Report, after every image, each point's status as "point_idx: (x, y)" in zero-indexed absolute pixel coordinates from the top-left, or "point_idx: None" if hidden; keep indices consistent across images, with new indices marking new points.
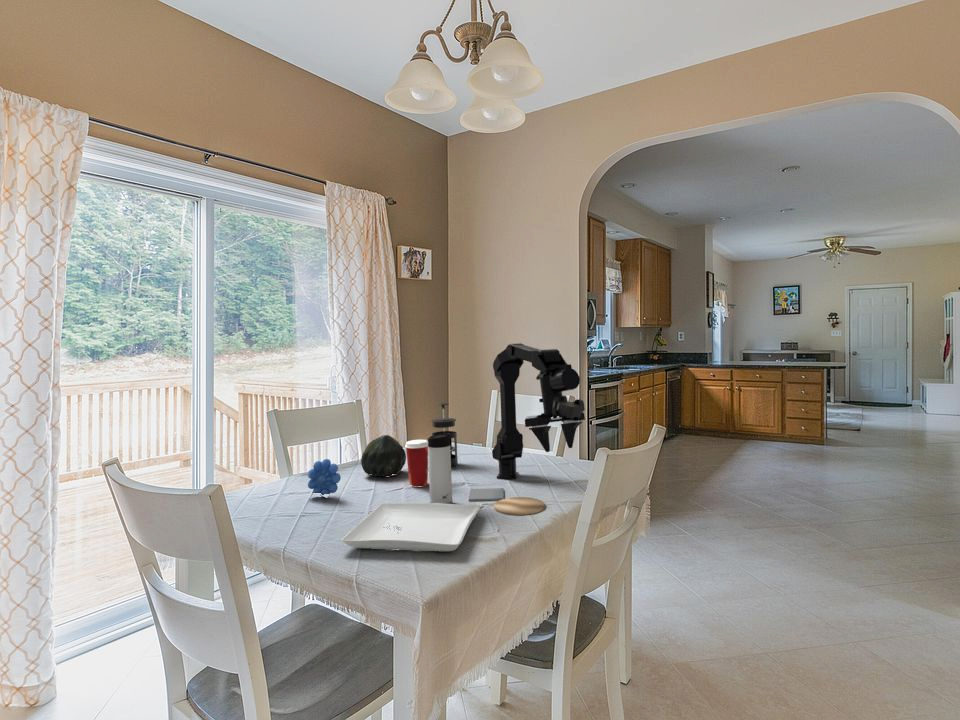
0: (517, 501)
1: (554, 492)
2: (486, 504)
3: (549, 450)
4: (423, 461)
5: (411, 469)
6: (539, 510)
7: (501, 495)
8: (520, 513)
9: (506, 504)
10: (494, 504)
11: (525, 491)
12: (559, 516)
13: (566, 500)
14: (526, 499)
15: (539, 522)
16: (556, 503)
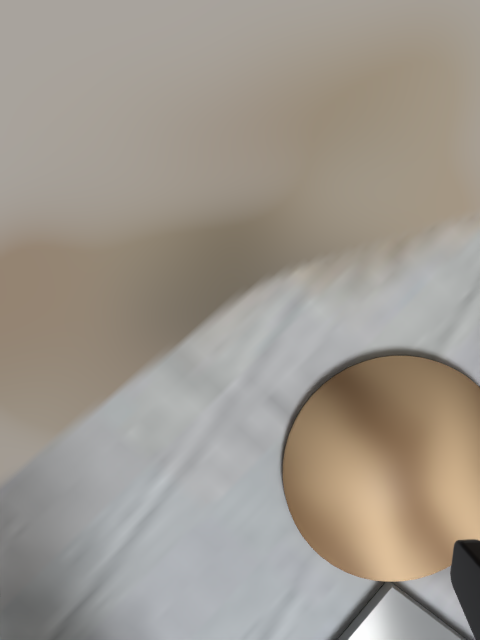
0: (371, 515)
1: (133, 516)
2: None
3: (474, 547)
4: None
5: None
6: (386, 357)
7: (372, 624)
8: (471, 384)
9: (433, 515)
10: None
11: (225, 617)
12: (361, 257)
13: (180, 390)
14: (322, 510)
15: (471, 263)
16: (246, 390)
